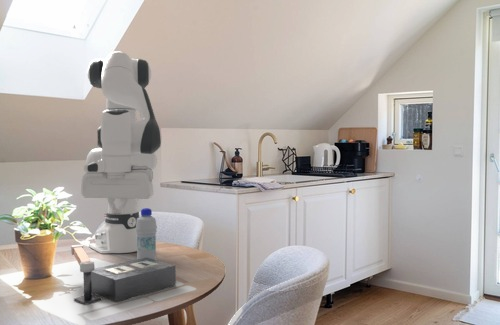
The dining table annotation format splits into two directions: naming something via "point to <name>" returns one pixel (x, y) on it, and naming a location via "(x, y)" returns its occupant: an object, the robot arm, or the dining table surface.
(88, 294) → the pivot post
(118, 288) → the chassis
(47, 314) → the dining table surface
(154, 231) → the bottle
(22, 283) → the dining table surface
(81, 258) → the swing arm
